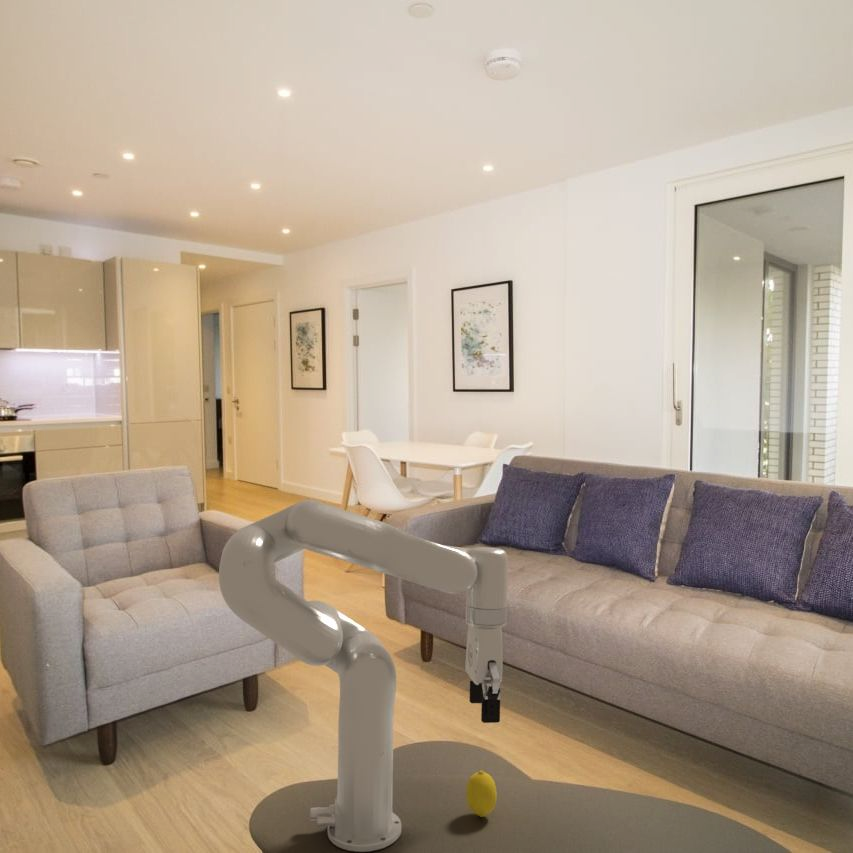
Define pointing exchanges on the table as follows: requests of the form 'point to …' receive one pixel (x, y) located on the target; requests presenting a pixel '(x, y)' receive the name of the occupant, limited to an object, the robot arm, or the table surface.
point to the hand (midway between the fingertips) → (483, 712)
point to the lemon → (481, 793)
